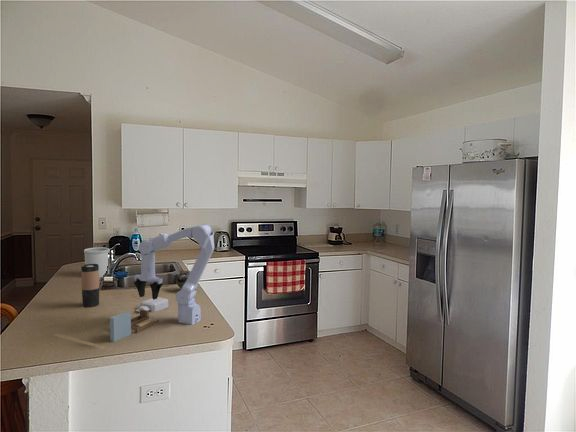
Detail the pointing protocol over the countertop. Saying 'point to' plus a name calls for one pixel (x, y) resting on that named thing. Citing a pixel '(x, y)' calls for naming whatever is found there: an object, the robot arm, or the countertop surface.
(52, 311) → the countertop surface
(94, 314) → the countertop surface
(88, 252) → the utensil holder
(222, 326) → the countertop surface
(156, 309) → the charger
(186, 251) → the countertop surface
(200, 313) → the robot arm
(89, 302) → the travel mug
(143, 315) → the tray
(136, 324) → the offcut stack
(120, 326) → the board
